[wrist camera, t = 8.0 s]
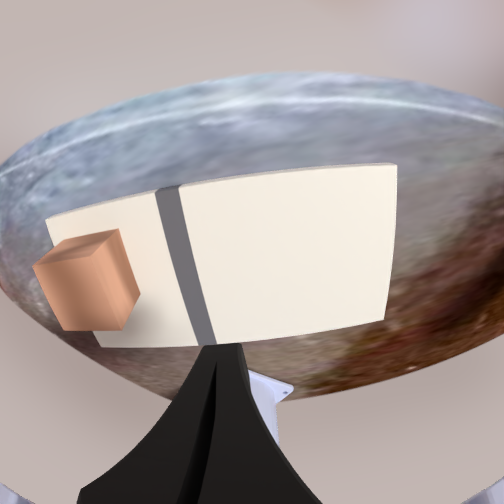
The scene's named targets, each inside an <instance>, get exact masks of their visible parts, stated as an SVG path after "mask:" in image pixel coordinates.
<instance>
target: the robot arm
mask: <svg viewBox="0 0 504 504" xmlns="http://www.w3.org/2000/svg"><path fill="white" fill-rule="evenodd" d="M292 391H293V386H292V385H290V384H287V383H284V382H281V381H278V380H275V379H272V378H269V377H267V376H264V375H261V374H258V373H256V372H253V371H250V370H248V368H247V364H246V360H245V356H244V352H243V348H242V345H241V344H240V343H228V344H218V345H206V346H204V347H203V348H202V350H201V352H200V354H199V356H198V358H197V360H196V361H195V363H194V365H193V367H192V369H191V371H190V373H189V374H188V376H187V378H186V380H185V381H184V383H183V385H182V386H181V388H180V390H179V391H178V393H177V395H176V396H175V398H174V399H173V401H172V402H171V404H170V405H169V406H168V408H167V409H166V411H165V412H164V414H163V415H162V416H161V418H160V419H159V420H158V422H157V423H156V424H155V426H154V427H153V428H152V429H151V431H149V433H148V434H147V435H146V436H145V437H144V438H143V439H142V440H141V441H140V442H139V443H138V445H137V446H136V447H135V448H134V449H133V450H132V451H131V452H129V453H128V454H127V455H126V456H125V457H124V458H123V459H122V460H120V461H119V462H118V463H117V464H116V465H115V466H113V467H112V468H111V469H110V470H109V471H107V472H106V473H104V474H103V475H102V476H100V477H99V478H97V479H96V480H94V481H93V482H91V483H90V484H88V485H87V486H85V487H83V488H82V489H81V490H80V493H79V496H78V500H77V504H322V503H321V501H320V500H319V499H318V498H317V497H316V496H315V495H314V494H313V493H312V491H311V490H310V489H309V488H308V487H307V486H306V484H305V483H304V482H303V481H302V479H301V478H300V477H299V475H298V474H297V473H296V471H295V470H294V469H293V467H292V466H291V464H290V463H289V461H288V460H287V458H286V457H285V456H284V454H283V453H282V451H281V450H280V448H279V436H278V427H277V426H278V425H277V414H276V404H277V403H278V402H279V401H281V400H282V399H283V398H285V397H286V396H287V395H288V394H290V393H291V392H292ZM0 504H35V503H33V502H31V501H29V500H28V499H25V498H23V497H22V496H20V495H19V494H17V493H15V492H14V491H12V490H11V489H9V488H8V487H6V486H5V485H3V484H2V483H0ZM461 504H504V477H502V478H501V479H500V480H498V481H497V482H495V483H494V484H493V485H492V486H490V487H488V488H486V489H484V490H482V491H481V492H479V493H477V494H476V495H474V496H473V497H471V498H469V499H468V500H466V501H464V502H462V503H461Z"/></svg>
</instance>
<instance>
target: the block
mask: <svg viewBox="0 0 504 504" xmlns="http://www.w3.org/2000/svg"><path fill="white" fill-rule="evenodd" d="M33 269H34V271H35V274H36V276H37V278H38V280H39V283H40V285H41V287H42V289H43V291H44V293H45V295H46V298H47V300H48V302H49V304H50V306H51V308H52V309H53V311H54V313H55V315H56V317H57V319H58V321H59V323H60V324H61V326H62V328H63V330H64V331H122V329H123V327H124V325H125V323H126V321H127V319H128V317H129V315H130V314H131V312H132V310H133V308H134V306H135V304H136V302H137V300H138V298H139V296H140V295H141V293H140V291H139V288H138V285H137V282H136V280H135V277H134V274H133V271H132V268H131V265H130V262H129V259H128V256H127V253H126V250H125V247H124V244H123V241H122V238H121V234H120V231H119V228H118V229H113V230H107V231H102V232H97V233H93V234H88V235H83V236H78V237H74V238H69V239H64V240H63V241H61V242H60V243H59V244H58V245H56V246H55V247H54V248H53V249H51V250H50V251H49V252H48V253H47V254H46V255H44V256H43V257H42V258H41V259H40V260H39V261H37V262H36V263H35V264H34V265H33Z"/></svg>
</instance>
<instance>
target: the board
mask: <svg viewBox="0 0 504 504" xmlns="http://www.w3.org/2000/svg"><path fill="white" fill-rule="evenodd" d="M396 202H397V165H395V164H392V163H366V164H347V165H331V166H318V167H306V168H296V169H286V170H277V171H268V172H260V173H252V174H245V175H237V176H230V177H224V178H217V179H211V180H205V181H199V182H193V183H187V184H182V185H177V186H171V187H166V188H161V189H156V190H151V191H147V192H142V193H137V194H133V195H128V196H124V197H120V198H116V199H111V200H107V201H103V202H99V203H95V204H92V205H88V206H84V207H80V208H77V209H73V210H69V211H66V212H62V213H59V214H56V215H52V216H51V217H49V218H48V219H46V220H45V221H46V224H47V227H48V230H49V233H50V236H51V239H52V242H53V244H54V247H55V246H56V245H58V244H59V243H60V242H61V241H63V240H64V239H69V238H74V237H78V236H83V235H88V234H93V233H97V232H102V231H107V230H113V229H118V228H119V231H120V234H121V238H122V241H123V244H124V247H125V250H126V253H127V256H128V259H129V262H130V265H131V268H132V271H133V274H134V277H135V280H136V282H137V285H138V288H139V291H140V293H141V295H140V296H139V298H138V300H137V302H136V304H135V306H134V308H133V310H132V312H131V314H130V315H129V317H128V319H127V321H126V323H125V325H124V327H123V329H122V331H93V333H94V335H95V337H96V339H97V340H98V342H99V344H100V346H101V347H119V348H139V347H177V346H197V345H212V344H225V343H236V342H246V341H256V340H265V339H273V338H281V337H288V336H296V335H302V334H309V333H315V332H322V331H327V330H333V329H339V328H344V327H350V326H355V325H360V324H365V323H370V322H374V321H379V320H383V319H384V314H385V308H386V302H387V296H388V290H389V283H390V275H391V267H392V258H393V248H394V237H395V223H396Z"/></svg>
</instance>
